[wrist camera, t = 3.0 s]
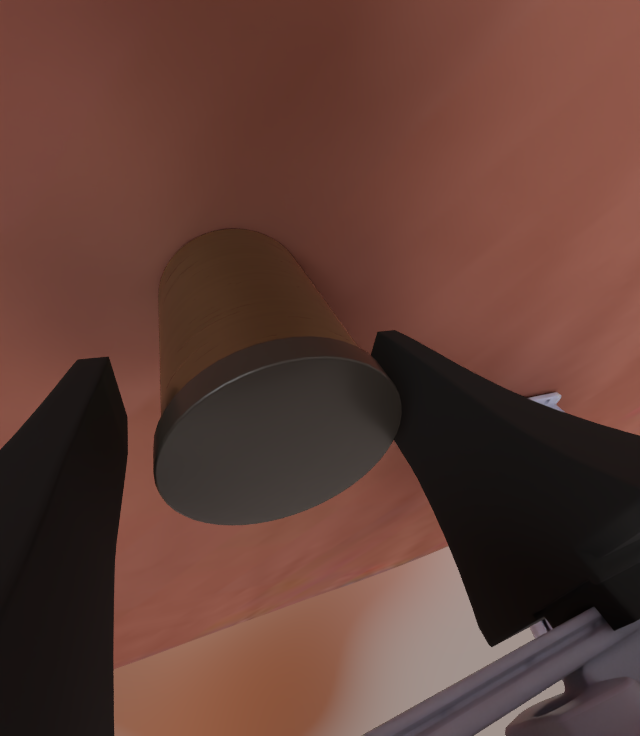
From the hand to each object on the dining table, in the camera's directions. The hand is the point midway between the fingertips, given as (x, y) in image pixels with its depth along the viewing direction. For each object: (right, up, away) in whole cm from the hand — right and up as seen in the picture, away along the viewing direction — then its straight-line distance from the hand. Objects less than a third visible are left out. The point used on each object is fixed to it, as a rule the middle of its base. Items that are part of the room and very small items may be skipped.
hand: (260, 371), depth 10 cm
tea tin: (-1, +3, +3) cm, 4 cm away
